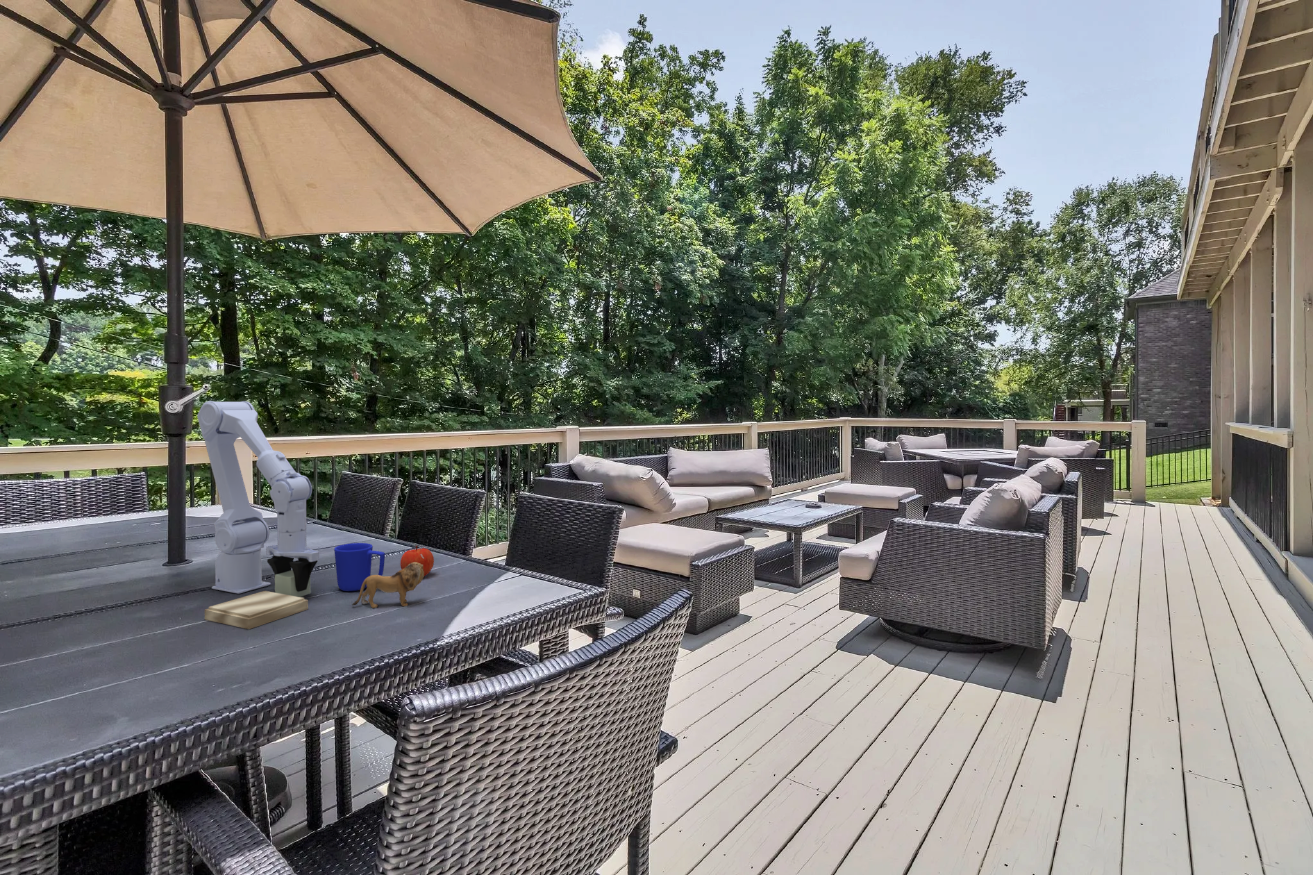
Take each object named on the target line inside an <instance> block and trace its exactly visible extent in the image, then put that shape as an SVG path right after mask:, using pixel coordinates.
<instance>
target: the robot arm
mask: <svg viewBox="0 0 1313 875" xmlns="http://www.w3.org/2000/svg"><path fill="white" fill-rule="evenodd" d="M258 416H259V414H258V411H256V410H255V407H254V406H253V405H252V403H250V402H249V401H246V400H242V401H213V400H208V401H205V402H204V403H203V404H202V405H201V407H200V409H199V411H198V413H197V420H198V425H199V428H200V430H201V432H200V433H201V435H202V438H203V439H204V445H205V447H206V451H207V456H208V458H209V462H210V466H211V469H212V470H211V472H212V474H213V477H214V482H215V486H216V488H217V493H218V496H219V501H220V504H221V507H222V514H221V515H220V516H219V517H218V519H216V520H215V521H214V523H213V525H214V531H215V533H214V543H215V545H216V547H217V548H218V550H220V552H219V553H218V555H217V556H216V558H215V560H214V562H215V563H214V565H215V566H214V570H215V571H214V572H215V573H214V574H215V575H214V576H215V585H213V586H211V589H213V590H217V591H218V590H219V591H223V592H228V593H233V594H242V593H245V592H249V591H253V590H257V589H260V588H263V587H267V586H270V585H271V582H268V581H263V579H262V576H263V575H262V549H263V548H265V552H266V556H272V557H271V558H267V560H266V563H267V564H268V565H269V566H270V568H271V569H272V572H273V573H274V576H275V575H276V574H280V573H284V572H287V571H291V570H293V573H294V577H295V587H296V590H297V592H300V591H303V590H306V589H307V586H308V582H309V578H310V579H311V575H312V572H313V570H314V569H315V567H316V565H317V564H318V561H320V551H317V550H314V549H312V548H310V547H308V546H307V500H308V499H310V497H311V495H312V493H313V486H312V483H311V481H310V479H309V478H308V477H307V476H306V475H301V473H300V472H296V470H295V469H294V468H293V466H292V465H291V464H290V462H289V461H288V460H287V457H286V456H285V454H284V453H283V452H282V451H279V450H275V449H273V448H272V446H271V444H270V443H269V440H268V439H267V437H266V435H265V434H264V432H263V430H262V429H261V427H260V425H259V424H258ZM239 438H241V440H242V441H243V442H244V443H245V444H246V445H247V446H248V448H249V449H250V450H251V451H252V453H253V454H254V455H255V456H256V457H257V461H256V464H255V465H256V467H257V469H258V470H259V471H260V473H261V474H262V475H263V477H264V478H265V479H266V482H267V483H268V484H269V485H270V487H271V490H270V491H269V494H270V498H271V500H272V501H273V504H274V508H273V509H274V510H275V512H276V518H277V519H276V520H277V522H276V524H277V526H276V528H277V529H276V530H277V533H276V534H277V545H276V544H271V545H268V546H266V547H265V544H266V543H267V542H268V541H269V538H270V528H269V527H270V526H269V525H268V523H267V522H266V521H265V519H264V517H263V514H262V512H261V511H259V510H257V509H255V508H253V507H252V506H251V505H250V500H249V497H248V494H247V493H248V492H247V489H246V485H245V482H244V478H243V474H242V470H241V467H240V463H239V460H238V455H237V452H236V447H235V442H236V440H237V439H239ZM294 559H297V560H294Z"/></svg>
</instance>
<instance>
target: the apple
mask: <svg viewBox="0 0 1313 875" xmlns="http://www.w3.org/2000/svg"><path fill="white" fill-rule="evenodd" d="M399 562H400V565H399V566H400V568H401V570H402V569H404V568H405V567H407V566H408V565H409V564H410V563H413V562H417V563H420V564H421V565H423V571H424V577H425V576H427V575H428V574H429V573H430V572H431V571H432V569H433V567H434V565H435V564H434V563H435V558H434V554H433V552H431V550H430V549H428V548H426V547H425V548H424V547H423V548H418V545H415V548H414V549H409V550H407V551H405V552H404V553H403V554H402V556H401V558H400V561H399Z"/></svg>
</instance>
